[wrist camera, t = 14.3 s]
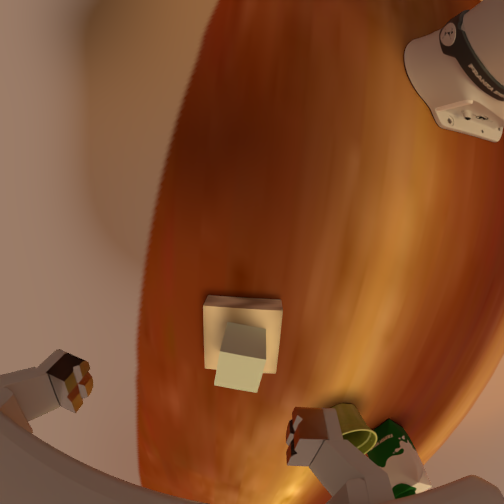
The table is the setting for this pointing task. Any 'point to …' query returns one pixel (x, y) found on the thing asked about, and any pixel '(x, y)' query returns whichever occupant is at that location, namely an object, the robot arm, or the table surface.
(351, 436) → the plant pot
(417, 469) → the milk carton
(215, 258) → the table surface
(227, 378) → the sage block
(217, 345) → the birch block
